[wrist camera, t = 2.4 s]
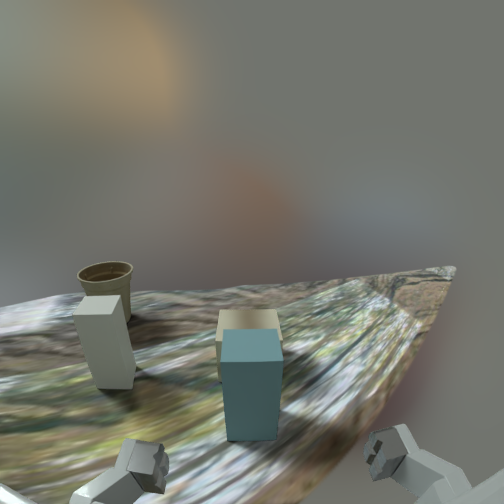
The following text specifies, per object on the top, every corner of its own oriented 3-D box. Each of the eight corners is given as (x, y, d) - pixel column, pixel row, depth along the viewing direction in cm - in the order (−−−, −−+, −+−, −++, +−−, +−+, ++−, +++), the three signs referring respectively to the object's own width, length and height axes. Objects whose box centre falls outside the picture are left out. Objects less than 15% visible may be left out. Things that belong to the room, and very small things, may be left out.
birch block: (218, 382, 31) (215, 341, 29) (222, 348, 37) (219, 309, 36) (279, 381, 31) (282, 340, 29) (274, 347, 38) (275, 309, 36)
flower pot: (150, 311, 46) (144, 263, 44) (120, 339, 38) (108, 285, 35) (109, 303, 48) (101, 259, 46) (77, 326, 40) (65, 277, 37)
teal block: (227, 441, 22) (220, 361, 19) (228, 408, 27) (223, 329, 24) (276, 439, 22) (283, 360, 20) (272, 407, 27) (277, 328, 24)
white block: (97, 388, 27) (72, 314, 24) (104, 365, 31) (85, 296, 29) (132, 389, 28) (111, 314, 25) (136, 365, 32) (120, 295, 29)
